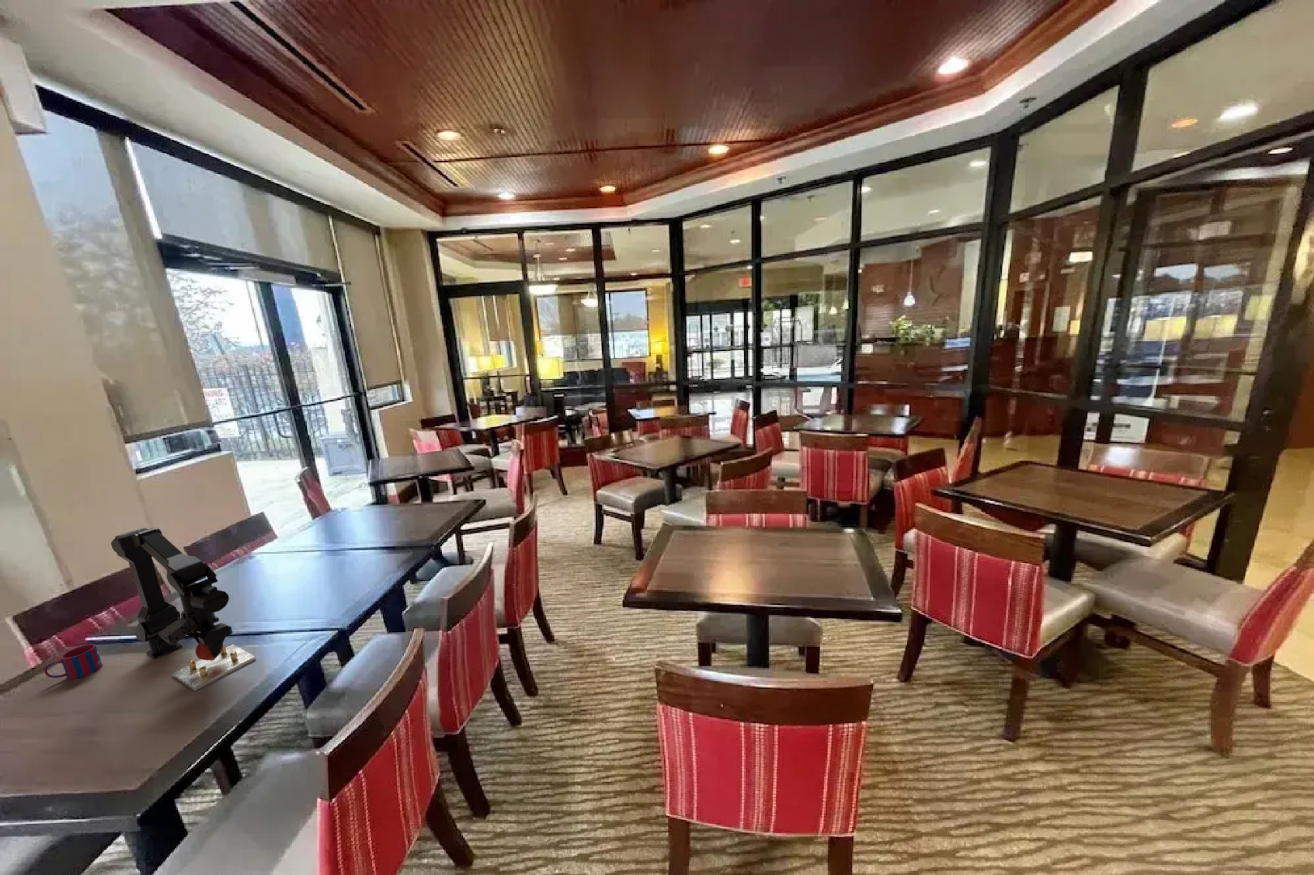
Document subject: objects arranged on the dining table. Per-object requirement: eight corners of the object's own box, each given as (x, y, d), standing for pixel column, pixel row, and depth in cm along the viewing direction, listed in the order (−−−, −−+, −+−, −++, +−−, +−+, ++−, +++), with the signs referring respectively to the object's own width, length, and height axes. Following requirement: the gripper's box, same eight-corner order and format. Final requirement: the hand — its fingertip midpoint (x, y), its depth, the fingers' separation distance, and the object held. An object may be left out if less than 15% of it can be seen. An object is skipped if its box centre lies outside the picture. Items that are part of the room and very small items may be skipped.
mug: (102, 670, 140) (95, 649, 139) (48, 689, 133) (40, 668, 132) (103, 660, 145) (96, 640, 143) (51, 678, 138) (43, 658, 136)
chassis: (173, 676, 136) (169, 665, 135) (233, 647, 148) (230, 637, 147) (194, 690, 129) (191, 679, 129) (255, 659, 141) (253, 648, 141)
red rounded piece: (195, 669, 134) (188, 644, 133) (203, 657, 139) (196, 633, 138) (222, 662, 137) (215, 637, 135) (228, 650, 142) (222, 627, 140)
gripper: (144, 612, 132) (160, 662, 135) (173, 629, 123) (188, 681, 126) (196, 592, 141) (210, 639, 145) (226, 606, 133) (239, 655, 136)
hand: (211, 653), depth 138 cm, fingers closed on red rounded piece, 6 cm apart
